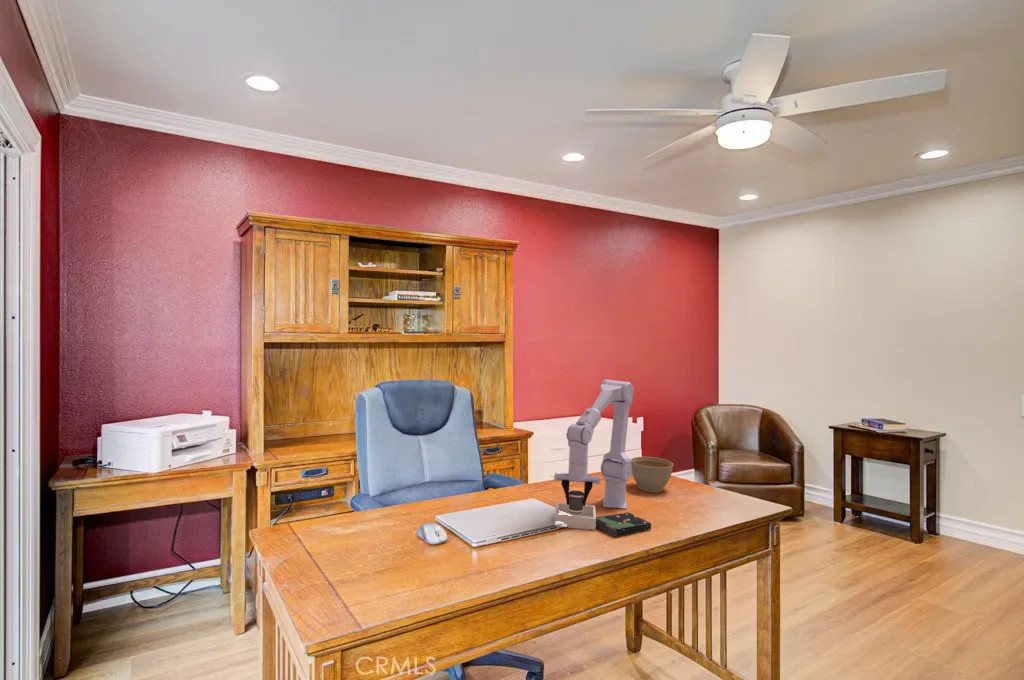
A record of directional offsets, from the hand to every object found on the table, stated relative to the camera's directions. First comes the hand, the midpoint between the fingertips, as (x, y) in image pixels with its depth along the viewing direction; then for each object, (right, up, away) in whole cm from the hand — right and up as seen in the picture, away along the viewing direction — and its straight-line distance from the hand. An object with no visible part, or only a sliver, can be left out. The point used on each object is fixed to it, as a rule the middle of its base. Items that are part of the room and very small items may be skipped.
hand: (575, 504), depth 180 cm
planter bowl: (+33, -6, +39) cm, 52 cm away
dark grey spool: (0, -2, 0) cm, 2 cm away
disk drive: (+14, -7, -4) cm, 16 cm away
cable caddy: (0, -5, 0) cm, 5 cm away
